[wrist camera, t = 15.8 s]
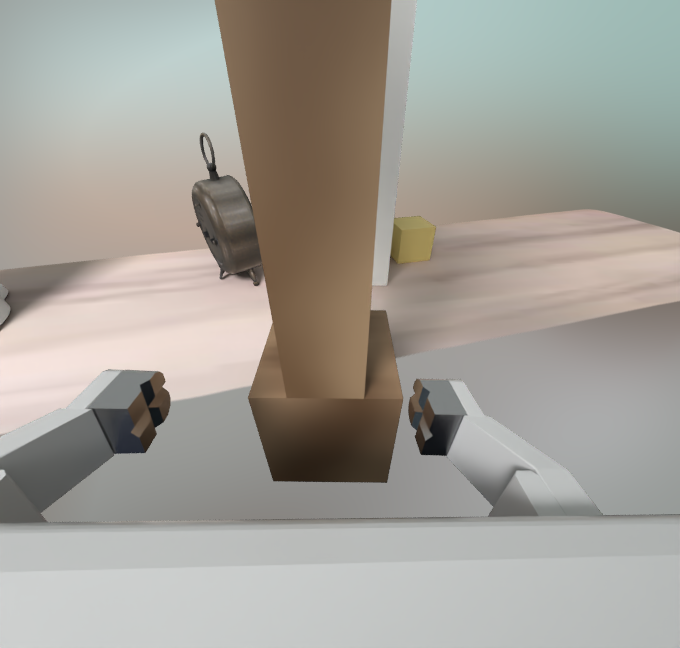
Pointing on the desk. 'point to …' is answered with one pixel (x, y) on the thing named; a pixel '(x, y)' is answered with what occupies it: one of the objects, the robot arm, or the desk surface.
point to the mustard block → (412, 239)
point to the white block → (392, 130)
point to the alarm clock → (226, 220)
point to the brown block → (316, 229)
